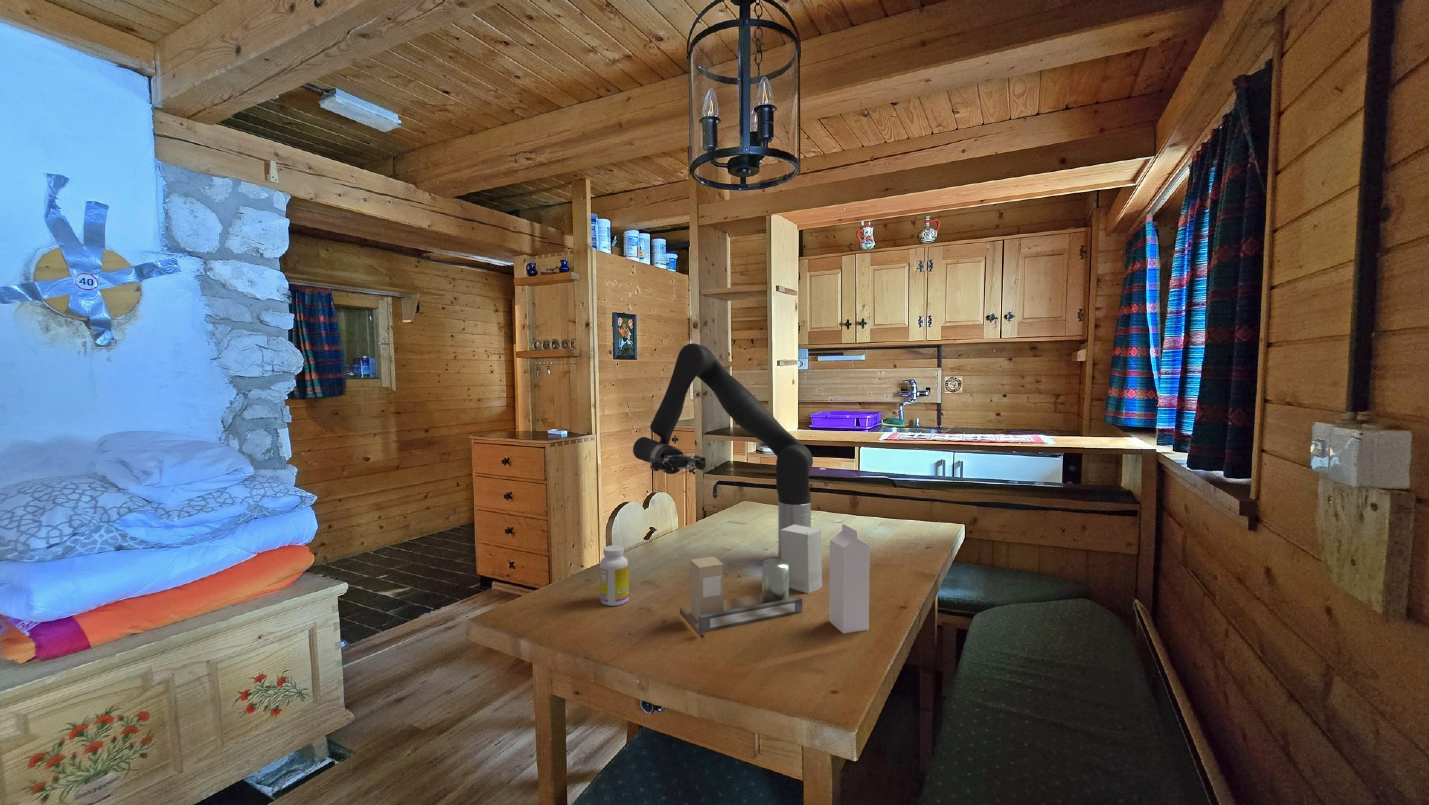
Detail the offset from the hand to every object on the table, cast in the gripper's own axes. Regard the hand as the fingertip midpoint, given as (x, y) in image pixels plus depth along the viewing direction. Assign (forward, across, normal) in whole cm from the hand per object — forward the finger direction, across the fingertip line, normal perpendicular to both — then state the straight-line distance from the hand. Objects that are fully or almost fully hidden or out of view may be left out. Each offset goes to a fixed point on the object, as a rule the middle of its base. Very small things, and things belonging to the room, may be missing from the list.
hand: (686, 467), depth 145 cm
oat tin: (+25, +12, +29) cm, 40 cm away
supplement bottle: (+4, -20, +30) cm, 36 cm away
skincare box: (+16, +24, +30) cm, 42 cm away
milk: (+39, +22, +30) cm, 54 cm away
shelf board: (+23, +4, +30) cm, 38 cm away
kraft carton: (+23, -4, +29) cm, 37 cm away
